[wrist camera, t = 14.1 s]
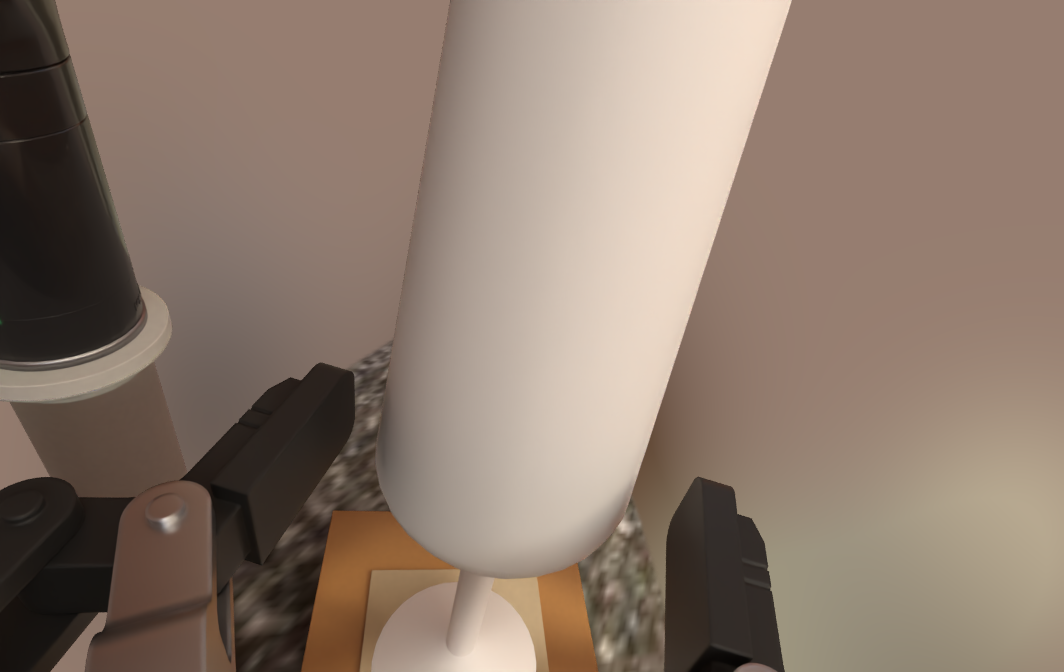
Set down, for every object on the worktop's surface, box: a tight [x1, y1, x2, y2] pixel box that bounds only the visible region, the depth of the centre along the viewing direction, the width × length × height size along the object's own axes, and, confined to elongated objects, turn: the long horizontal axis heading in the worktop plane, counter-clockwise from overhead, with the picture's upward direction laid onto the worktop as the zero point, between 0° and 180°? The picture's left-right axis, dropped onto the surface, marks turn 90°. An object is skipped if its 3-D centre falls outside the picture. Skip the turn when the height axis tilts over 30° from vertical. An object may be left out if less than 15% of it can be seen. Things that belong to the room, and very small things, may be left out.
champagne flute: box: [371, 0, 792, 672], centre depth 15 cm, size 7×7×24 cm
